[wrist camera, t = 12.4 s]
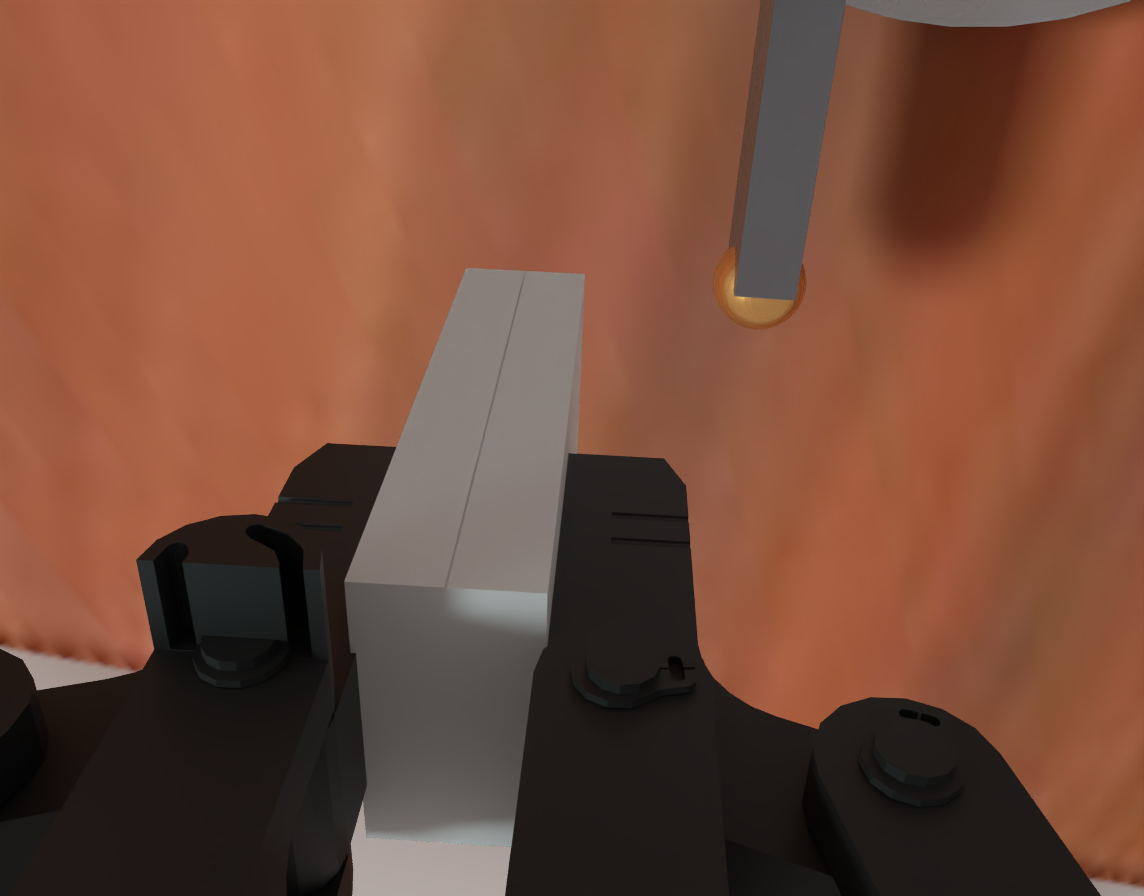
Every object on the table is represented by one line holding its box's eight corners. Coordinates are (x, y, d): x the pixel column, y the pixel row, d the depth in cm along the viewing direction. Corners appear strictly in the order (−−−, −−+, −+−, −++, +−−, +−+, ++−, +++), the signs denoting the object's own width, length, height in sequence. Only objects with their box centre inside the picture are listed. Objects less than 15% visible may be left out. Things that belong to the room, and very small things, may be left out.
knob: (703, -336, 22) (722, -385, 17) (961, -322, 22) (1059, -365, 17) (645, 282, 29) (648, 382, 24) (843, 295, 28) (888, 399, 23)
